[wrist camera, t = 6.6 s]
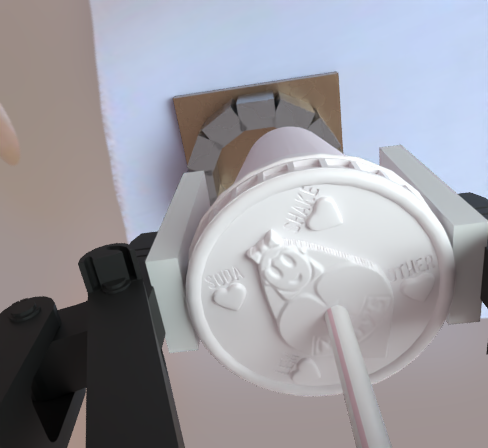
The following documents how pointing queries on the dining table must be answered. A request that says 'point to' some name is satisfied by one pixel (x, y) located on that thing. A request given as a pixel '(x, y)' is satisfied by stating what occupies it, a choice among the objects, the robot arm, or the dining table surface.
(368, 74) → the dining table surface
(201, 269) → the smoothie
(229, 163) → the stone fire pit ring
